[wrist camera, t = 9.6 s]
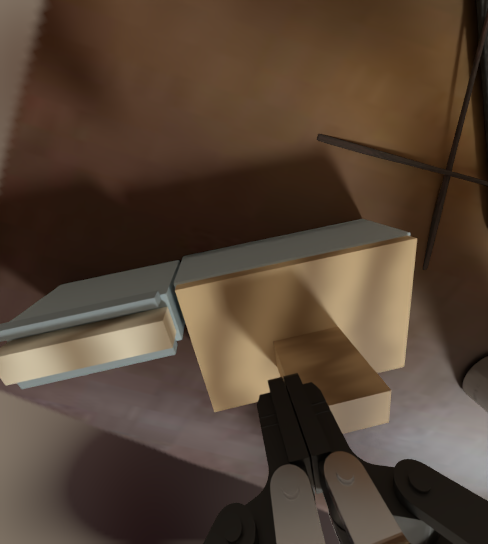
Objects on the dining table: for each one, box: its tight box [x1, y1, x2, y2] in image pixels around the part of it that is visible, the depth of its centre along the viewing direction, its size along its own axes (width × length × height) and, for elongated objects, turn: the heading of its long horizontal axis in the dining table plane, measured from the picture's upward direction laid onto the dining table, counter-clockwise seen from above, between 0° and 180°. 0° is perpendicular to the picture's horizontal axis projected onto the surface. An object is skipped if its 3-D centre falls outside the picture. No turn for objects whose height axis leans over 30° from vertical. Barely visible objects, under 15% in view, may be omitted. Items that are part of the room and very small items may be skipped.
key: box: [0, 306, 176, 385], centre depth 18 cm, size 12×2×2 cm, turn 100°
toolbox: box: [0, 219, 410, 389], centre depth 24 cm, size 33×14×9 cm, turn 100°
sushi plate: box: [317, 0, 488, 270], centre depth 23 cm, size 29×30×4 cm
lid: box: [175, 235, 417, 434], centre depth 19 cm, size 20×14×8 cm
